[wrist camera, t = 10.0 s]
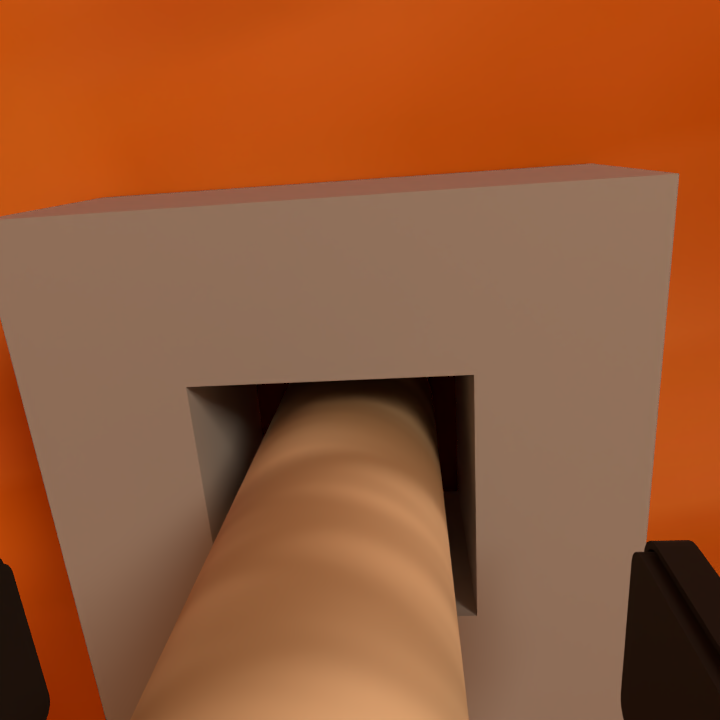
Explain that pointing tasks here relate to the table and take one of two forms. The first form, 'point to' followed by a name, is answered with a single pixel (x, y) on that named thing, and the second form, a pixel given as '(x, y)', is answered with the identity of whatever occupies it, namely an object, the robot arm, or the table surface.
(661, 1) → the table surface
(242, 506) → the long dowel
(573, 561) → the socket block
